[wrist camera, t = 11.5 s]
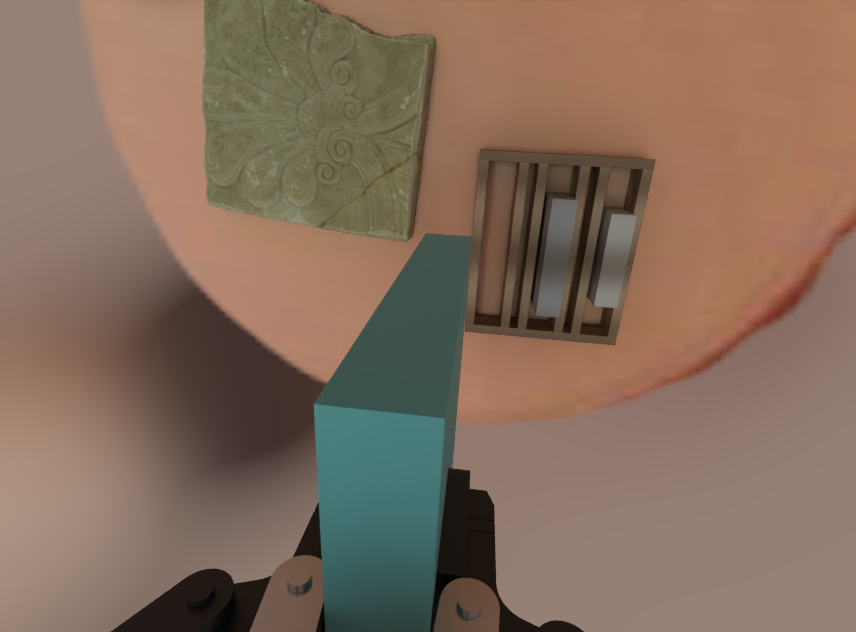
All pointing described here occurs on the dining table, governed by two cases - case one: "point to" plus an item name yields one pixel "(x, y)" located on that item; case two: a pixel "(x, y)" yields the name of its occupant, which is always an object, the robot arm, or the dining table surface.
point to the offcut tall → (553, 253)
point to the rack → (586, 249)
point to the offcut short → (611, 256)
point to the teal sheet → (392, 447)
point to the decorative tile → (313, 117)
